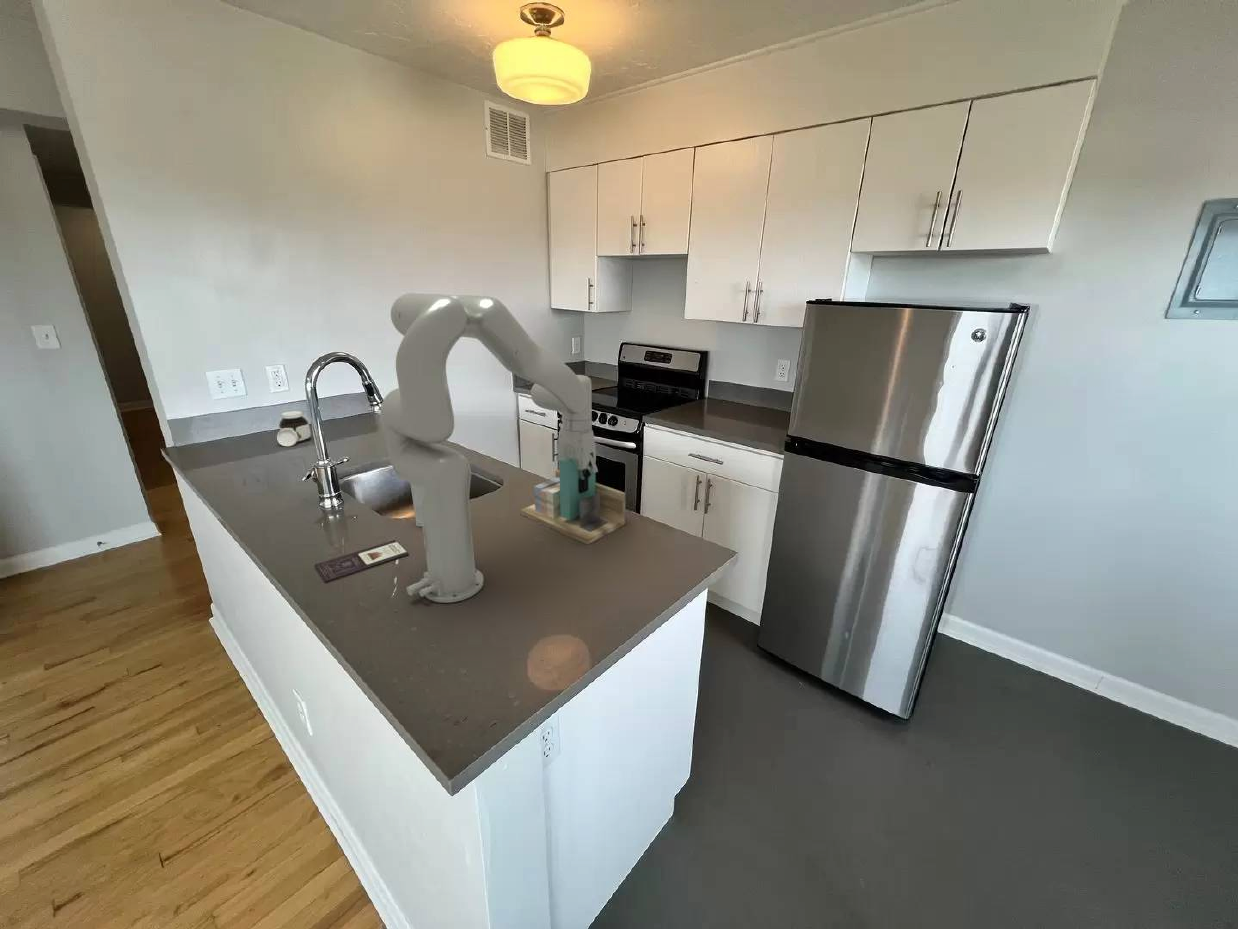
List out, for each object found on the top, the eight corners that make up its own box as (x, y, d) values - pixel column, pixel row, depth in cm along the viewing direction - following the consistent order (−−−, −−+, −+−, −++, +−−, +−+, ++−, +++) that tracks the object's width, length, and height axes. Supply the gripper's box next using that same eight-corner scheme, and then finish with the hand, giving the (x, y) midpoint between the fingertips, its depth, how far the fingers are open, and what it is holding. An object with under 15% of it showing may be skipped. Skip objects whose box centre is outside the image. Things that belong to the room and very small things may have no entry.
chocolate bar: (314, 564, 114) (394, 540, 126) (315, 568, 115) (395, 543, 126) (325, 581, 108) (408, 553, 120) (326, 585, 109) (409, 557, 120)
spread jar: (310, 436, 208) (304, 409, 204) (315, 443, 200) (309, 415, 196) (275, 441, 201) (269, 413, 197) (280, 449, 192) (273, 419, 188)
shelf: (587, 544, 126) (587, 510, 123) (520, 514, 142) (518, 483, 139) (624, 524, 137) (625, 492, 134) (559, 498, 153) (558, 469, 150)
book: (569, 520, 132) (568, 463, 127) (560, 516, 135) (559, 460, 129) (595, 508, 140) (595, 454, 134) (586, 504, 142) (585, 451, 136)
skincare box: (436, 528, 133) (430, 476, 128) (414, 526, 134) (407, 475, 129) (449, 514, 141) (444, 465, 136) (429, 513, 142) (422, 464, 137)
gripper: (544, 421, 131) (546, 485, 137) (590, 433, 121) (590, 502, 127) (565, 415, 136) (566, 478, 142) (610, 427, 126) (610, 493, 133)
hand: (577, 489), depth 135 cm, fingers closed on book, 3 cm apart
